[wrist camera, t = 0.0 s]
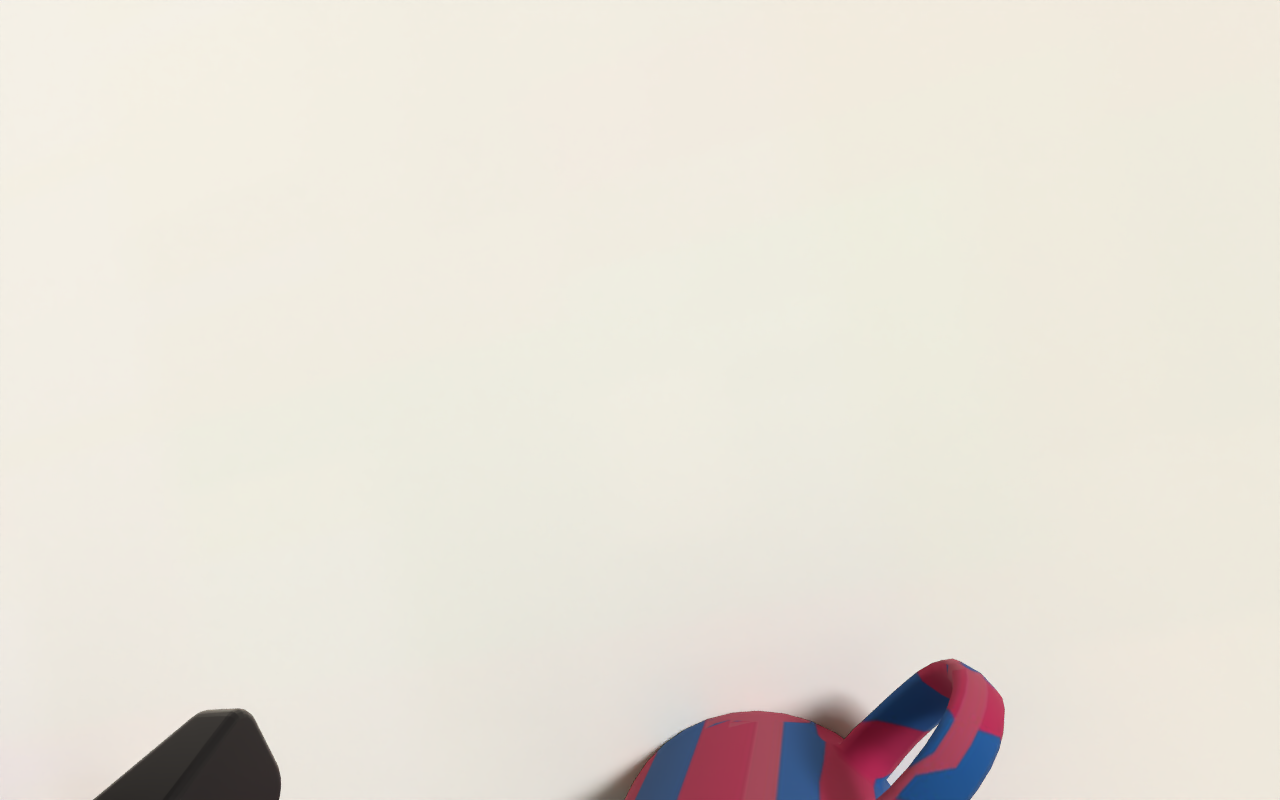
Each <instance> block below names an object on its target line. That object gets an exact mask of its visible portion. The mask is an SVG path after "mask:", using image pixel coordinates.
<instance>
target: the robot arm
mask: <svg viewBox="0 0 1280 800" xmlns="http://www.w3.org/2000/svg"><path fill="white" fill-rule="evenodd" d="M280 790H281V777H280V772H279V768H278V765H277V763H276V761H275V759H274V757H273V755H272V753H271V751H270V749H269V747H268V745H267V743H266V741H265V739H264V737H263V735H262V733H261V731H260V729H259V727H258V725H257V723H256V721H255V719H254V717H253V716H252V715H251V714H250V713H249V712H247V711H246V710H244V709H216V710H206V711H202V712H200V713H198V714H196V715H195V716H194V717H192V718H191V719H190V720H188V721H187V722H186V723H185V724H184V725H182V726H181V727H180V728H179V729H178V730H176V731H175V732H174V733H173V734H172V735H170V736H169V737H168V738H167V739H166V740H164V741H163V742H162V743H161V744H160V745H158V746H157V747H156V748H155V749H154V750H152V751H151V752H150V753H149V754H148V755H146V756H145V757H144V758H143V759H142V760H140V761H139V762H138V763H137V764H136V765H134V766H133V767H132V768H131V769H130V770H128V771H127V772H126V773H125V774H124V775H122V776H121V777H120V778H119V779H118V780H116V781H115V782H114V783H113V784H112V785H110V786H109V787H108V788H107V789H106V790H104V791H103V792H102V793H101V794H99V795H98V796H97V797H96V798H95V799H93V800H279V797H280Z"/></svg>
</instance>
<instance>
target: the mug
mask: <svg viewBox="0 0 1280 800" xmlns="http://www.w3.org/2000/svg"><path fill="white" fill-rule="evenodd" d="M1004 712H1005V709H1004V704H1003V699H1002V697H1001V696H1000V694H999V693H998V692H997V690H996V689H995V688H994V687H993V686H992V685H991V684H990V683H989V682H988V681H987V679H986V678H985V677H984V676H983V675H982V674H981V673H979V672H978V671H976V670H974V669H972V668H971V667H969V666H967V665H966V664H964V663H962V662H960V661H957V660H955V659H947V660H941V661H938V662H934V663H931V664H930V665H928V666H926V667H925V668H923V669H921V670H919V671H918V672H917V673H915V674H914V675H913V676H912V677H910V678H909V679H908V680H907V681H906V682H904V683H903V684H902V685H901V686H900V687H899V688H897V689H896V690H895V691H894V692H893V693H892V694H891V695H889V696H888V697H887V698H886V699H885V700H884V701H883V702H882V703H881V704H880V705H879V706H878V707H877V708H876V709H875V710H874V711H873V712H871V713H870V714H869V715H868V716H867V717H866V718H865V719H864V720H863V721H862V722H861V723H860V724H858V725H857V726H856V727H855V728H854V729H853V730H852V731H851V732H850V734H849V735H848V736H847V737H846V738H845V739H843V738H842V737H841V736H839V735H838V734H836V733H835V732H833V731H831V730H828V729H826V728H824V727H822V726H820V725H818V724H816V723H814V722H812V721H809V720H805V719H802V718H798V717H795V716H791V715H788V714H783V713H774V712H764V711H750V712H736V713H730V714H726V715H722V716H718V717H714V718H710V719H707V720H705V721H702V722H700V723H698V724H696V725H694V726H691V727H689V728H687V729H685V730H684V731H682V732H681V733H679V734H678V735H676V736H675V737H674V738H672V739H671V740H669V741H668V742H666V743H665V744H664V745H663V746H662V747H661V748H660V749H659V750H658V751H657V752H656V753H655V754H654V755H653V756H652V757H651V758H650V759H649V760H648V761H647V763H646V764H645V766H644V767H643V769H642V770H641V772H640V773H639V775H638V776H637V778H636V779H635V781H634V782H633V784H632V786H631V788H630V790H629V792H628V794H627V796H626V798H625V800H970V799H971V798H972V796H973V795H974V794H975V792H976V791H977V790H978V788H979V787H980V785H981V783H982V782H983V780H984V779H985V777H986V775H987V774H988V772H989V771H990V769H991V767H992V764H993V762H994V760H995V758H996V755H997V753H998V751H999V748H1000V744H1001V740H1002V736H1003V728H1004ZM938 724H939V725H938ZM937 725H938V726H937ZM935 726H937V728H936V729H935V731H934V733H933V734H932V736H931V737H930V739H929V740H928V742H927V743H926V745H925V746H924V748H923V749H922V750H921V751H920V753H919V754H918V755H917V757H916V758H915V759H914V760H913V762H912V763H911V764H910V766H909V767H908V768H907V769H906V770H905V771H904V773H903V774H902V775H901V776H900V777H899V778H898V779H897V780H896V781H895V782H894V783H893V784H892V786H890V784H889V783H888V782H887V780H886V779H887V778H888V777H889V776H890V775H891V773H892V772H893V771H894V770H895V768H896V767H897V766H898V765H899V764H900V762H901V761H902V760H903V759H904V757H905V756H906V755H907V754H908V753H909V752H910V751H911V749H912V748H913V747H914V746H915V745H916V744H917V743H918V742H919V741H920V740H921V739H922V738H923V737H924V736H925V735H926V734H927V733H928V732H930V731H931V730H932V729H933V728H934V727H935Z"/></svg>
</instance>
